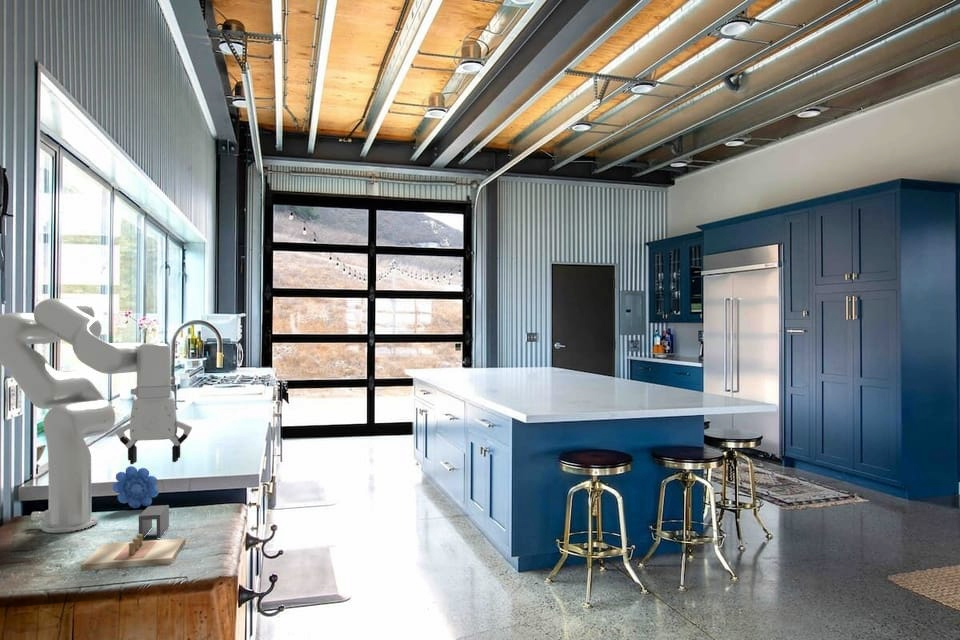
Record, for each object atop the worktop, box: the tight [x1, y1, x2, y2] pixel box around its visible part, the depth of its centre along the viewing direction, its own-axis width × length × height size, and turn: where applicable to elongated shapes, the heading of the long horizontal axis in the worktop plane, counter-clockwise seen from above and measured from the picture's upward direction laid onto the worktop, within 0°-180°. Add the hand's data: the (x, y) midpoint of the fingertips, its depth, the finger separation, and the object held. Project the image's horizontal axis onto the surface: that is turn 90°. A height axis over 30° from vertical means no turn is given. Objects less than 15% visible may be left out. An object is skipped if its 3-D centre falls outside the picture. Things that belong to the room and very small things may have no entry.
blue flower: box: [112, 465, 160, 509], centre depth 193 cm, size 12×7×12 cm, turn 119°
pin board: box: [80, 533, 186, 571], centre depth 154 cm, size 18×14×4 cm
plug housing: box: [138, 504, 170, 539], centre depth 170 cm, size 5×9×6 cm, turn 12°
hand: (154, 462), depth 170 cm, fingers open, 9 cm apart
